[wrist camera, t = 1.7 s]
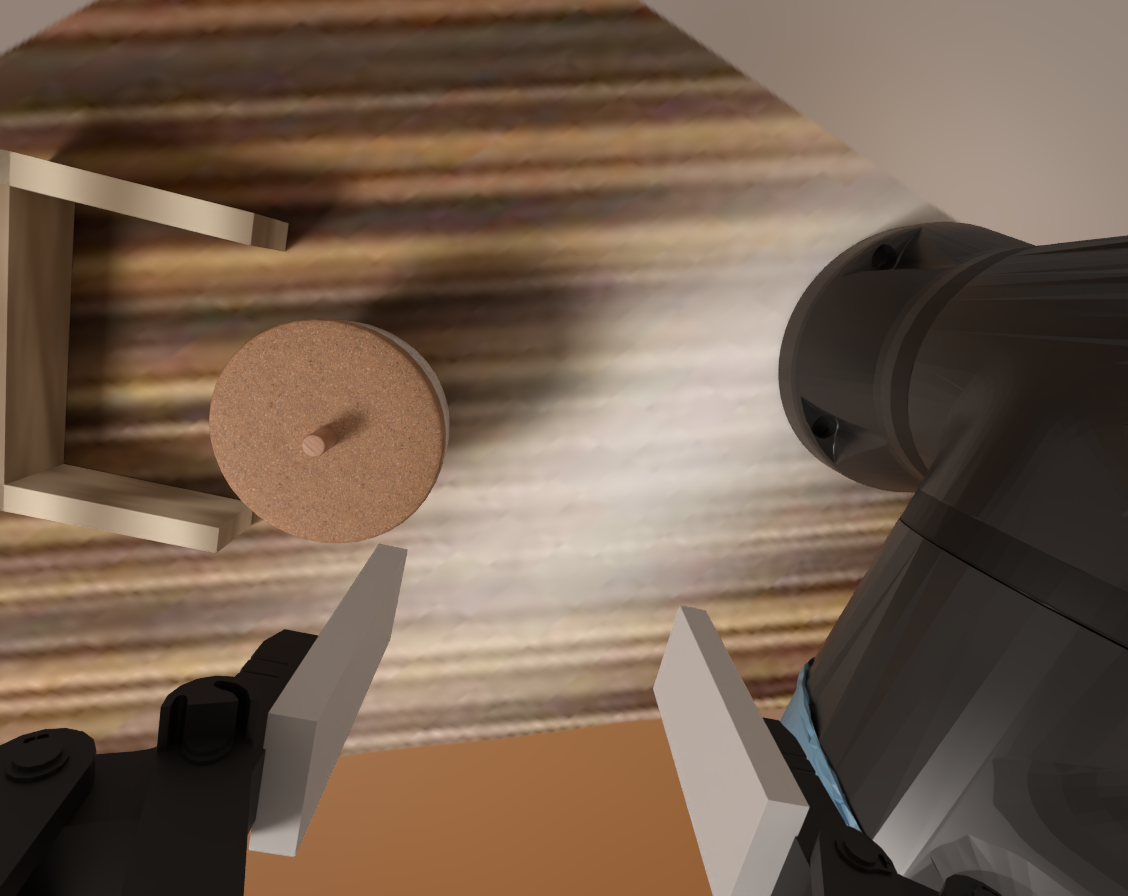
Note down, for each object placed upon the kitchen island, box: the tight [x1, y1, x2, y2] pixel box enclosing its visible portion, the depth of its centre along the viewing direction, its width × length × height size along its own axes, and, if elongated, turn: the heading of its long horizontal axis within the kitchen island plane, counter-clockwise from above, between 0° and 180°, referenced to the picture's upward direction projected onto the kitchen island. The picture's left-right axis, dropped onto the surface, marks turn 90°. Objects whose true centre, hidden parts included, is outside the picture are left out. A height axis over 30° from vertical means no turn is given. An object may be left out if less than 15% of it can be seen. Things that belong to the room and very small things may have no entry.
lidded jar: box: [209, 318, 450, 543], centre depth 30 cm, size 11×11×9 cm
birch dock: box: [0, 149, 289, 553], centre depth 32 cm, size 12×18×4 cm
